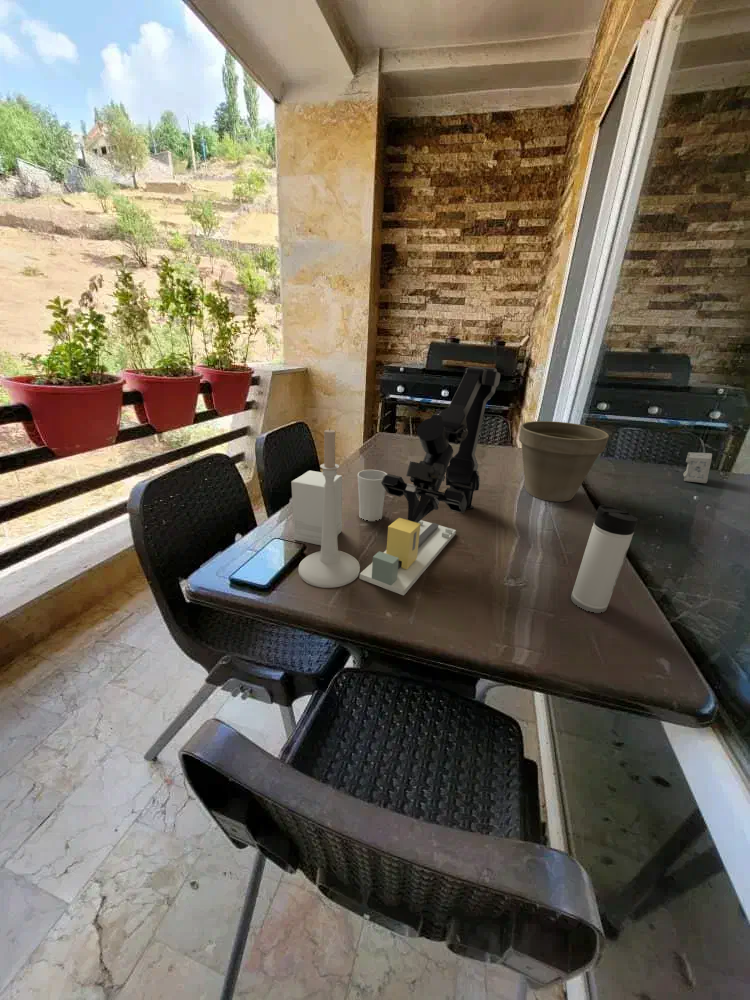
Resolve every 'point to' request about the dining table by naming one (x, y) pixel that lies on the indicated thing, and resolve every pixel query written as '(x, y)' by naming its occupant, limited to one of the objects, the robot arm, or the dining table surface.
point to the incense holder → (697, 467)
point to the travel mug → (603, 558)
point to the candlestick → (329, 534)
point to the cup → (371, 494)
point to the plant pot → (558, 457)
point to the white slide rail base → (400, 580)
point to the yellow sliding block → (403, 541)
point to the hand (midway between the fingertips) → (409, 527)
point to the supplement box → (313, 506)
